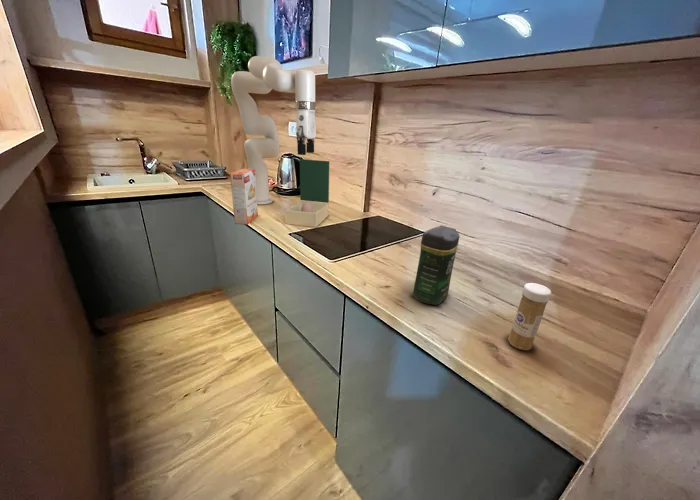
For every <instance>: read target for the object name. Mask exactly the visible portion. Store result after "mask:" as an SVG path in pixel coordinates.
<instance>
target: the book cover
mask: <svg viewBox="0 0 700 500" xmlns="http://www.w3.org/2000/svg"><path fill="white" fill-rule="evenodd" d="M299 193H300V194H299V195H300V196H299V198H300V199H299V200H300V201H307V202H317V203H327V204H329V202H330V160H318V159H317V160H316V159H304V158H303V159H302V158H299Z"/></svg>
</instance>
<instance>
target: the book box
mask: <svg viewBox="0 0 700 500" xmlns="http://www.w3.org/2000/svg"><path fill="white" fill-rule="evenodd" d="M305 202H309V203H310V204H311V205H312V207H313V213H310V212H301V207H302V205H303V204H304V203H305ZM328 217H329V203H325V202H315V201H305V200H300V201H297V202H296V203H295V204H293V205H292V206H290V207H288V208H286V209H285V210H284V219H285V224H287V225H295V226H302V227H311V228H317V227H318V226H319V225H321V223H322V222H323V221H324V220H326V219H327V218H328Z"/></svg>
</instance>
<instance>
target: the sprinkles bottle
mask: <svg viewBox="0 0 700 500" xmlns="http://www.w3.org/2000/svg"><path fill="white" fill-rule="evenodd" d="M521 293H522V294H521V299H520V300H519V301H520V302H519V305H518V308H517V311H516V313H515V317H514V319H513V322H512V326H511V330H510V333H509V336H508V338H507V341H508V343H509V344H510V345H511V346H512V347H513V348H514V349H515V348H516V349H518V350H520V351H521V350H522V351H530V350H531V349H532V348H533V343H534V340H535V338H536V336H537V334H538V330H539V327H540V324H541V322H542V318H543V316H544V313H545V311H546V306H547V304H548V303H549V301H550V299H551V295H552V291H551V289H550V288H549V287H547V286H545V285H543V284H540V283H535V282H528V283H525V284H524V286H523V289H522V292H521Z"/></svg>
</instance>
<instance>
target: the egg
mask: <svg viewBox="0 0 700 500" xmlns="http://www.w3.org/2000/svg"><path fill="white" fill-rule="evenodd" d="M309 202H310V201H307V202H305V203H304V204H303V205H302V207H301V212H310V213H313V207H312V205H311V204H310V203H309Z"/></svg>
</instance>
